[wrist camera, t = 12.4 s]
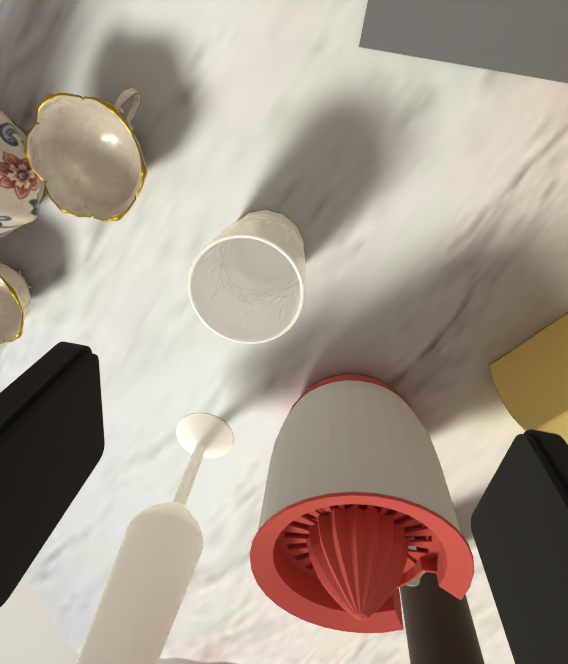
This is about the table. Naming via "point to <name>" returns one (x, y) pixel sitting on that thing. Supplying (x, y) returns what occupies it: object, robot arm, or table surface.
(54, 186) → the chinaware
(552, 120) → the table surface
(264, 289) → the white cup
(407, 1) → the mat
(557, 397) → the cheese
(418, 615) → the bottle
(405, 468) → the citrus juicer
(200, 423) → the champagne flute
